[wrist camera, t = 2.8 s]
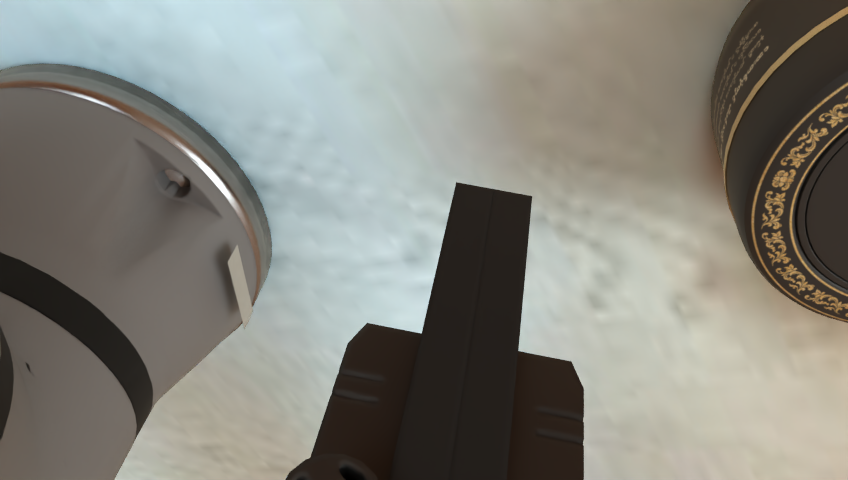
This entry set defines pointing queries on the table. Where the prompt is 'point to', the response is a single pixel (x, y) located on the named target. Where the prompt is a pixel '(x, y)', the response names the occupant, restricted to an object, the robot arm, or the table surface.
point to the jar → (788, 145)
